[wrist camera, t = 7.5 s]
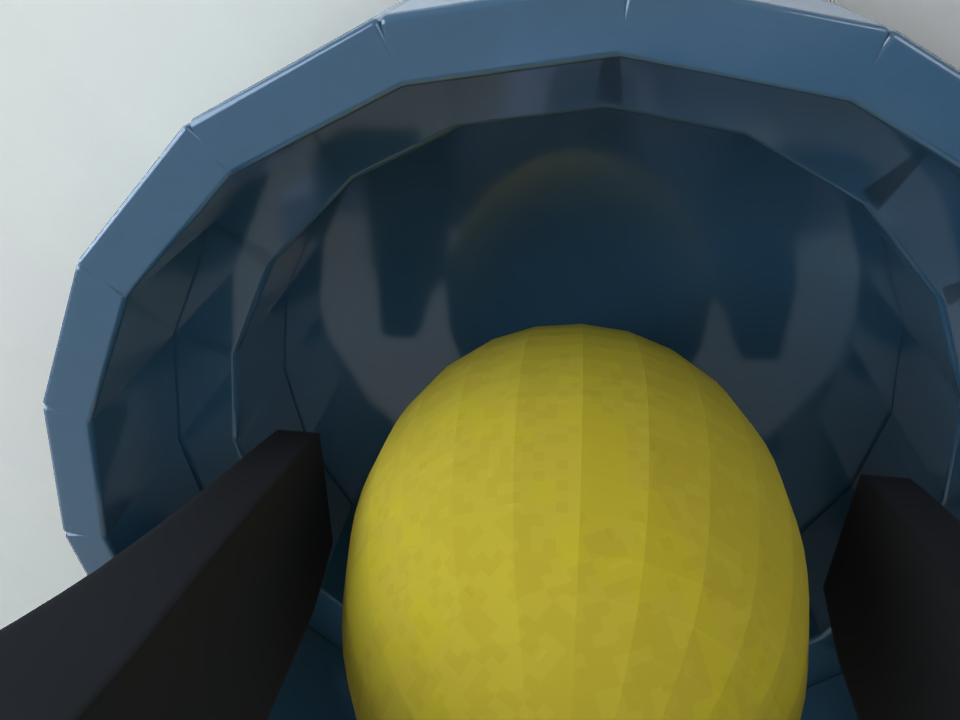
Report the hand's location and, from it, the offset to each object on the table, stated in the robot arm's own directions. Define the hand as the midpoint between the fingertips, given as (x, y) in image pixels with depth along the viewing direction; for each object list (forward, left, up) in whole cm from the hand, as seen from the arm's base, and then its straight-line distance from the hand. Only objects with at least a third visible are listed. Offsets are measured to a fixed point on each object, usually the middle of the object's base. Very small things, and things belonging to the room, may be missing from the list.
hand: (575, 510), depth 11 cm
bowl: (0, 0, -4) cm, 4 cm away
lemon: (0, 0, -3) cm, 3 cm away
